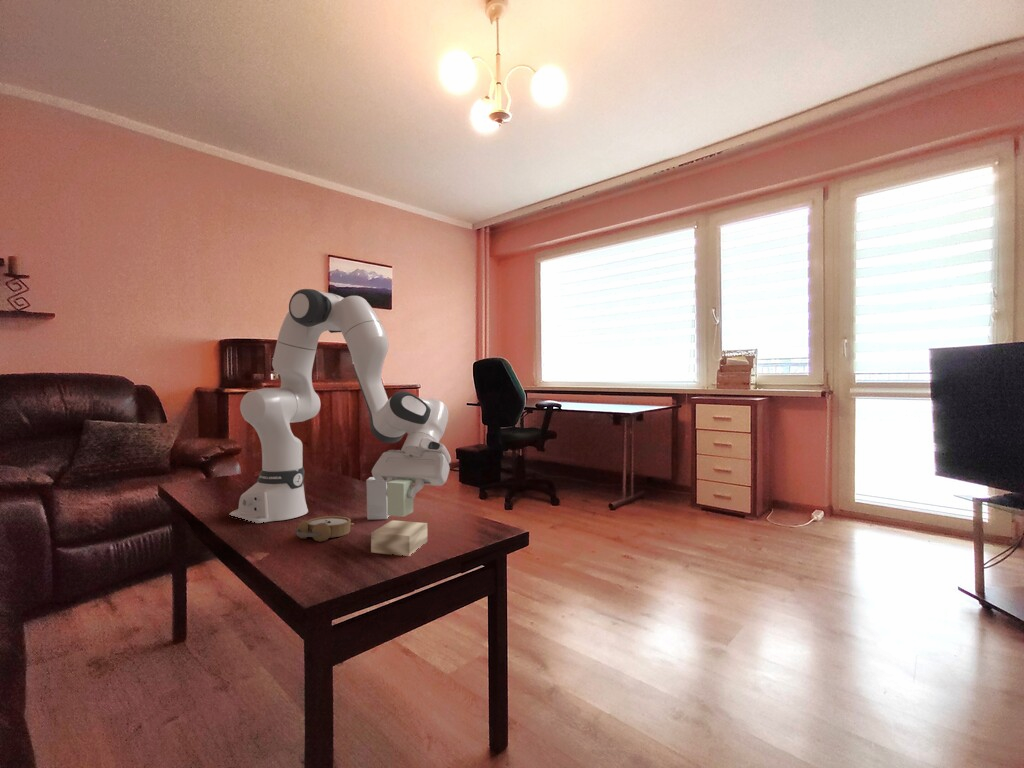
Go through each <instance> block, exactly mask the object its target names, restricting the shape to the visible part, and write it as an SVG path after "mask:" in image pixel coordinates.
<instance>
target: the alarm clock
mask: <svg viewBox="0 0 1024 768" xmlns="http://www.w3.org/2000/svg"><path fill="white" fill-rule="evenodd" d="M354 525H355V523H354V522H352V520H351V518H349V517H347V516H339V515H338V516H335V515H333V516H320V517H314V518H311V519H308V520H304V519H303V520H302V521H301V522H299V523H298V525H297V527H296V529H295V530H294V532H295V533H296V536H297V537H299V538H300V539H303V540H305V539H307V538H312V539H313V540H314V541H315V542H317V541H318V542H319V543H322V541H323V542H326V541H328V539H329V538H336V537H337V538H338V537H342V536H347V535H348V534H349V532H350V533H351V526H354Z"/></svg>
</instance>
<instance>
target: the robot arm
mask: <svg viewBox="0 0 1024 768" xmlns="http://www.w3.org/2000/svg"><path fill="white" fill-rule="evenodd" d="M325 332H328V333H331V334H334V333H341V334H342V336H343V339H344V340H345V343H346V345H347V348H348V350H349V353H350V356H351V359H352V364H353V367H354V372H355V376H356V379H357V383H358V385H359V388H360V391H361V394H362V396H363V399H364V402H365V405H366V407H367V411H368V414H369V429H370V431H371V433H372V435H373V436H374V437H375V438H376V439H377V440H378V441H380V442H383V443H385V444H396V443H397V442H400V440H401V439H403V437H404V436H405V435H406V434H407V436H406V439H405V441H404V443H403V445H402V447H401V449H393V448H392V449H388V450H386V451H384V452H382V454H381V455H380V457H379V459H377V461H376V462H375V464H374V466H373V467H372V469H371V475H372V477H374V478H375V479H376V481H380V482H390V481H393V480H396V479H407V480H413V488H412V489H408V492H407V494H406V496H407V497H408V498H411V499H413V500H414V499H415V498H416V494H417V493H419V492H420V491H421V490H422V489H423V488H424V487H425V486H440V487H441V486H443V485H444V484H446V483H447V480H448V477H449V474H450V467H451V466H450V464H451V462H452V458H451V455H450V453H449V451H448V449H447V447H446V446H445V444H443V443H441V442H440V440H441V439H442V438H443V436H444V433H445V432H446V431H445V430H446V429H447V424H448V423H449V409H448V407H447V405H446V404H445V403H444V402H443V401H441V400H439V399H436V398H422V397H419V396H417V395H416V394H414V393H412V392H410V391H406V390H399V391H397V392H395V393H394V394H392V395H391V397H390V398H389V397H388V395H387V391H386V389H385V388H384V385H383V380H382V370H383V365H384V362H385V360H386V357H387V354H388V350H389V345H390V344H389V339H388V336H387V332H386V329H385V328H384V326H383V325H382V322H381V320H380V319H379V317H378V315H377V314H376V312H375V310H374V308H373V307H372V306H371V304H370V303H369V302H368V301H367V299H365V298H364V297H363V296H359V295H349V296H346V297H343V296H341V295H338V294H335V293H332V292H325V291H320V290H317V289H313V288H303V289H299V290H297V291H295V292H294V293H293V294H292V295H291V298H290V299H289V304H288V311H287V314H286V315H285V317H284V320H283V321H282V324H281V327H280V330H279V333H278V336H277V339H276V340H277V341H276V345H275V348H274V353H273V357H272V361H271V366H272V368H273V370H274V371H275V372H276V374H278V375H279V376H280V387H263V388H259V389H254V390H250V391H248V392H247V393H245V394H244V395H243V397H242V399H241V401H240V405H239V410H240V413H241V416H242V418H243V419H244V421H245V422H247V423H248V424H250V425H251V426H252V427H253V429H254V430H255V432H256V433H257V435H258V438H259V441H260V445H261V446H260V447H261V458H262V459H261V466H262V467H261V468H262V469H261V470H260V471H257V472H256V471H255V472H254V476H255V477H257V476H258V478H257V479H256V481H257V482H255V483H254V484H253V485H251V487H249V488H248V489H247V490H246V491H245V492H243V493H241V495H240V496H239V497H240V498H239V500H238V508H237V509H235V510H232V511H231V512H230V513H229V515H231V516H235V517H238V518H242V519H245V520H244V521H246V520H248V521H247V522H250V521H252V522H251V523H254V522H255V523H254V524H261V523H262V524H263V522H264V523H269V522H275V521H276V522H278V521H285V520H291V519H294V518H298V517H301V516H304V515H306V514H308V513H309V509H308V505H307V501H306V496H305V488H304V487H305V486H304V479H305V468H304V466H303V463H304V462H303V458H304V457H303V456H304V455H303V442H302V440H301V438H298V437H297V436H295V435H294V433H293V431H292V427H291V424H290V423H300V422H305V421H308V420H311V419H313V418H315V417H316V416H317V415H318V414H319V412H320V410H321V399H320V396H319V395H318V393H317V392H316V391H315V389H314V385H313V379H312V378H313V376H312V374H313V367H314V363H315V357H316V353H317V347H318V344H319V339H320V337H321V335H322V334H323V333H325ZM385 494H386V496H387V490H386V492H385ZM229 515H228V516H229Z"/></svg>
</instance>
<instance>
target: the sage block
mask: <svg viewBox="0 0 1024 768" xmlns="http://www.w3.org/2000/svg"><path fill="white" fill-rule="evenodd" d="M413 487H414V484H413V480H407V479H396V480H393V481H390V482H387V515H389V516H390V517H400V518H402V517H403V518H404V517H406V516H409V515H410V514H412V513H413V512H414V499H411V498H408V497H407V496H406V494H407V492H408V489H412V488H413Z"/></svg>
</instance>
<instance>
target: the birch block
mask: <svg viewBox="0 0 1024 768" xmlns="http://www.w3.org/2000/svg"><path fill="white" fill-rule="evenodd" d="M427 543H428V522H416V521H406V520H405V521H404V520H394V519H392V520H390V521H388V522H387V523H385V524H383V525H382V526H380V527H378V528H376V529H375V530H373V531H372V532H370V553H375V554H383V555H392V554H394V555H395V556H402V555H403V556H404V557H410V556H412V555H413V554H414V553H416V552H417V551H418V550H419V549H420V548H422V547H423V546H424V545H425V544H427ZM423 544H424V545H423ZM422 545H423V546H422ZM421 546H422V547H421ZM418 548H419V549H418ZM417 549H418V550H417ZM416 550H417V551H416ZM412 553H413V554H412ZM411 554H412V555H411Z"/></svg>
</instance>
